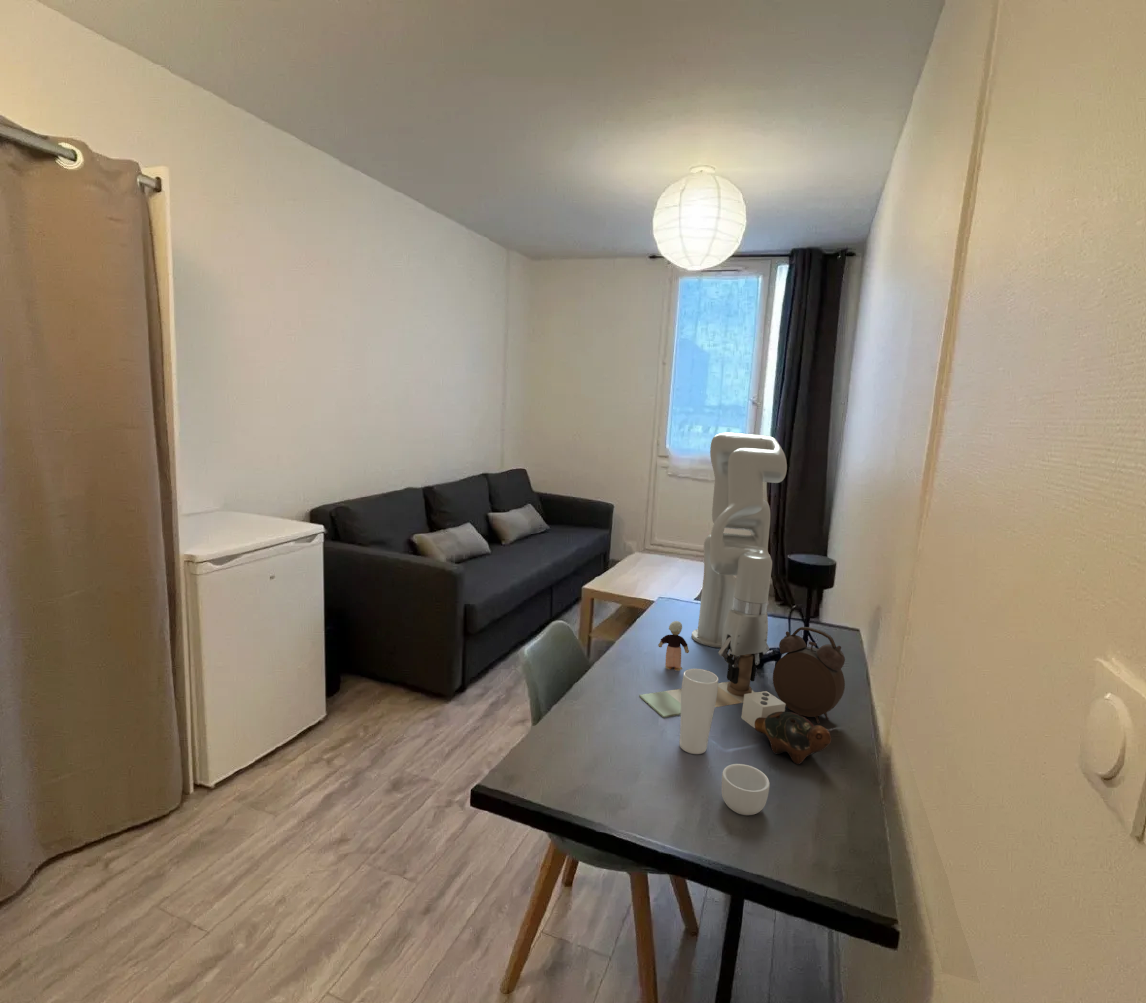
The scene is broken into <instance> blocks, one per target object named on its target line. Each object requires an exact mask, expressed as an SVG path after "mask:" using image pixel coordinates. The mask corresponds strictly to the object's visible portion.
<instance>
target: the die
mask: <svg viewBox="0 0 1146 1003" xmlns="http://www.w3.org/2000/svg"><path fill="white" fill-rule="evenodd" d="M755 692H756V693H749V694H744V701H743V703H742V709H741V719H742V720H743V721H745V723H747V724H748V725H749V726H751V727H752V728H754V729H755V720H756V719H757V718H759V717H762V718H767V716H768V715H770V714H772V713H775V712H781V711H782V712H786V707H785V705H786V704H785V703H784V702H782V701H781V700H780V698H779V697H776V696H775V695H773V693H770V692H768V691H767V690H765V691H755Z"/></svg>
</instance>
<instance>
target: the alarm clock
mask: <svg viewBox="0 0 1146 1003" xmlns="http://www.w3.org/2000/svg"><path fill="white" fill-rule="evenodd" d="M800 631H809V632H813V633H816V634H819V635H822V636H823V637H824V638H827V639H828V640H829V642H830V644H823V645H821V646H820V647H819V648H816V646H817V643H816V642H813V641H809V642H808V645H810V646H807V644H806V642H805V640H804V639H803V637H802V636H800V635H798V633H799V632H800ZM778 646H779V652H780V654H785V655H782V657H781V658H779V660H777V662H776V664H775V666H774V669H773V673H772V683H773V688H774V690H775V693H776V694H777V696H778V697H777V698H778V699H779V700H781V701H782V702H784V703H785V704H786V705H785V708H788V709H789V710H791V712H792V713H796V714H798V715H801V716H803V717H809V718H812V717H813V718H815V720H816V723H817V724H820V722H821V721H820V720H819V717H820V716H822V715H824V717H825V720H829V719H830V718H829V717H828V712H830V711H831V710H832V709H834V708H835V707H836V706H837V705H838V704H839V702H840V701H841V699H842V698H843V696H844V693H845V688H846V681H845V676H844V673H843V670H842V669H843V667H844V665H845V662H846V658H845V654H844V653H843V651H841V649H842V646H841V645H836V642H835V640H834V637H832V636H831V635H830V634H828V633H826V632H825V631H822V630H821V629H817V628H814V627H808V626H800V627H798V628H796V630H795V631H794V632H793V633H792V634H791V633H790V632H789V631H788V630H787V631H786V632H785V636H784V637H782V638H781V639H780V641H779V644H778Z"/></svg>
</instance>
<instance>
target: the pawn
mask: <svg viewBox="0 0 1146 1003" xmlns="http://www.w3.org/2000/svg"><path fill="white" fill-rule="evenodd" d="M734 657H735V656H734V655H733V660H734ZM752 663H753V655H752V654H746V655H741V656H740V660H739V663H738V666H737V667H738V668H739V676H738V683H737V684H734V683H732V682H730V683H728V685H727V690H728V692H730V693H731V694H733V695H736V696H742V697H744V694H749V693H751V692H752V690H753V688H752V686H750V685H751V680H750V679H751V671H752Z"/></svg>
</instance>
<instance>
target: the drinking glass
mask: <svg viewBox="0 0 1146 1003" xmlns="http://www.w3.org/2000/svg"><path fill="white" fill-rule="evenodd" d="M718 683H719V677H718V676H717V674H715V673H714V672H712V671H709V670H708V669H702V668H688V669H687V670H684V671H683V674H682V681H681V688H680V689H681V715H680V720H679V721H680V725H679V726H680V728H679V730H680V731H679V741H678V743H679V747H680V748H681V750H683V751H684V752H686V753H688V754H691V755H701V754H704V753H706V751H707V748H708V741H709V738H710V737H709V736H710V731H711V728H712V721H713V719H714V718H713V716H714V712H715V708H716V707H715V704H716V699H717V692H718Z"/></svg>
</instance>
